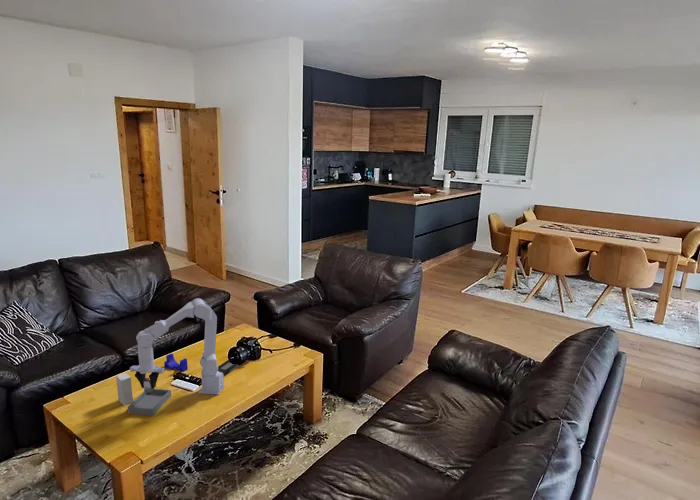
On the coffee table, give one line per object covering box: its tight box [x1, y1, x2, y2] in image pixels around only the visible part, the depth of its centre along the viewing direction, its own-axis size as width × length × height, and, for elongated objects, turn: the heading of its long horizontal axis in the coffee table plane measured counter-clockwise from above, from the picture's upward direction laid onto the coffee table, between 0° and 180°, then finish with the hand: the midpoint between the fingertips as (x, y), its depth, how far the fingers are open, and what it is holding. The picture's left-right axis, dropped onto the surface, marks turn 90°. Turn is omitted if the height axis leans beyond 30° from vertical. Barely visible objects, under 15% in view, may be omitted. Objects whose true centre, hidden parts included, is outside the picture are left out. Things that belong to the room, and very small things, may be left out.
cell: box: [143, 377, 155, 393], centre depth 193 cm, size 4×4×6 cm
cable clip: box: [163, 353, 188, 373], centre depth 226 cm, size 12×4×6 cm, turn 60°
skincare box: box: [115, 372, 134, 406], centre depth 196 cm, size 6×4×12 cm
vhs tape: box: [218, 359, 240, 377], centre depth 228 cm, size 8×14×2 cm, turn 156°
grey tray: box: [127, 388, 172, 416], centre depth 195 cm, size 11×15×3 cm
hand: (148, 387), depth 194 cm, fingers closed on cell, 4 cm apart
